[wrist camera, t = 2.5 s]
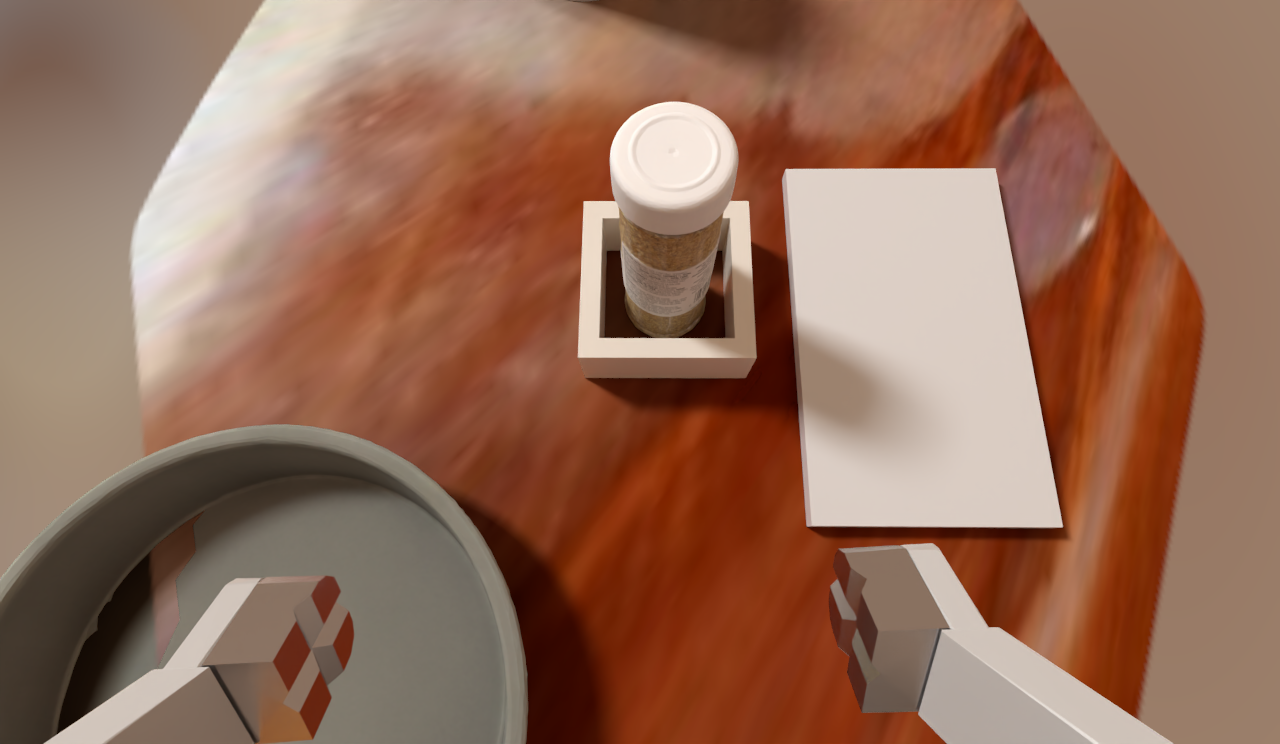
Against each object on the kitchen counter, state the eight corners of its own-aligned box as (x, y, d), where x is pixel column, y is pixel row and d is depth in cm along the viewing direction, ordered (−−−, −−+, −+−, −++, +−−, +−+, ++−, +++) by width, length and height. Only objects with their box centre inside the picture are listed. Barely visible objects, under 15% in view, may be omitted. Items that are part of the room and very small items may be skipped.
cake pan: (480, 383, 33) (455, 357, 29) (608, 910, 26) (600, 980, 22) (13, 521, 31) (-89, 516, 27) (18, 1126, 24) (-118, 1249, 20)
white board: (1050, 528, 30) (1063, 527, 29) (806, 526, 30) (811, 525, 29) (986, 178, 36) (995, 168, 35) (782, 179, 36) (785, 169, 35)
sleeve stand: (745, 378, 33) (756, 358, 29) (585, 377, 33) (578, 357, 29) (739, 235, 35) (748, 201, 32) (590, 235, 35) (583, 201, 32)
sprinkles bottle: (658, 252, 35) (663, 74, 22) (722, 297, 34) (767, 140, 21) (607, 310, 34) (581, 159, 21) (671, 358, 33) (686, 232, 20)
